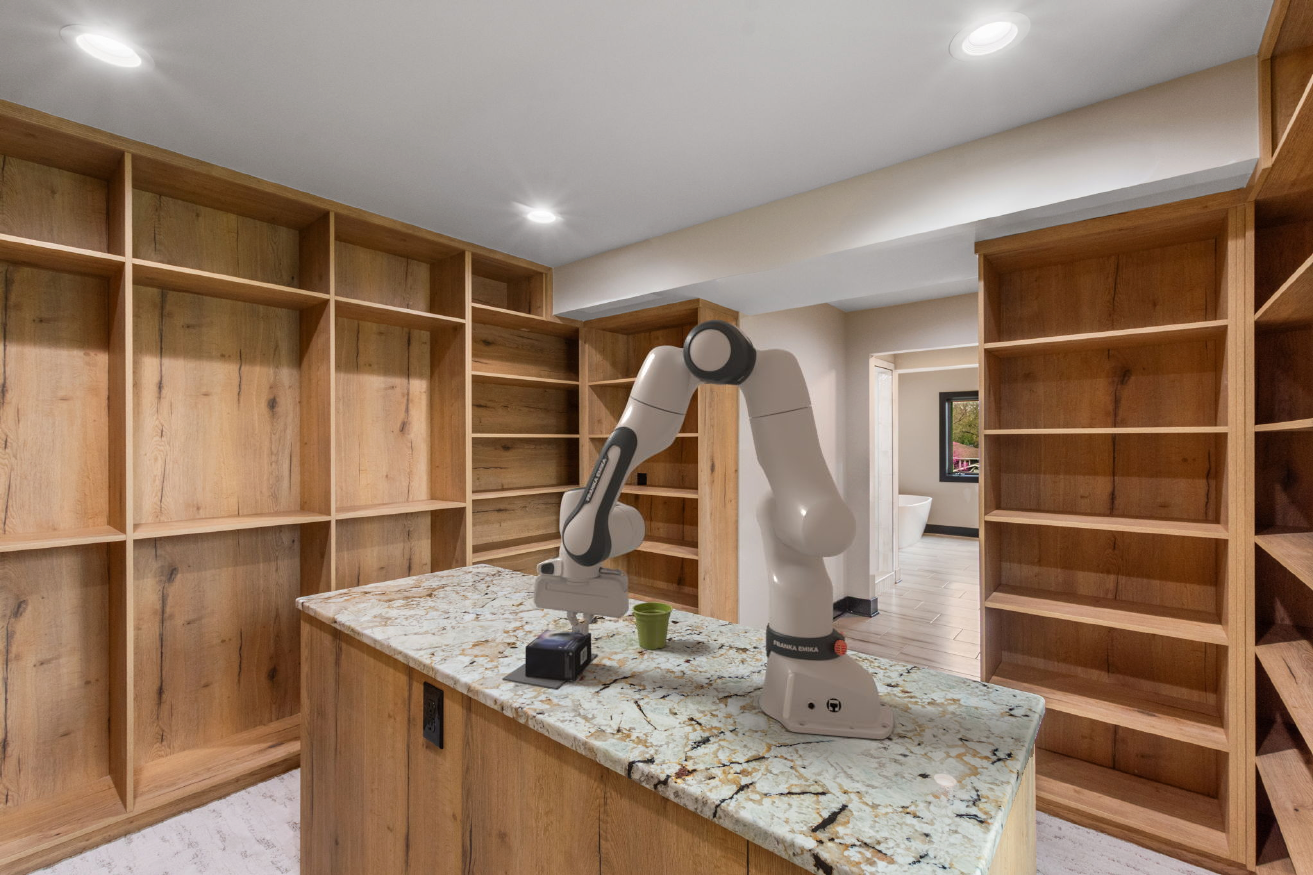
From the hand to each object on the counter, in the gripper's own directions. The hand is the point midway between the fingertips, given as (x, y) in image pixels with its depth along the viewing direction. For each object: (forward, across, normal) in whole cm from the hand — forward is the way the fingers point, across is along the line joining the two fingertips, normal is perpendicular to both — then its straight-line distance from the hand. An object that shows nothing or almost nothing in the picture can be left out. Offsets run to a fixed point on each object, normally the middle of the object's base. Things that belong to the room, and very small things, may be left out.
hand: (580, 633), depth 116 cm
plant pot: (+8, -9, -19) cm, 22 cm away
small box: (+4, -1, 0) cm, 4 cm away
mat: (+8, +6, 0) cm, 10 cm away
